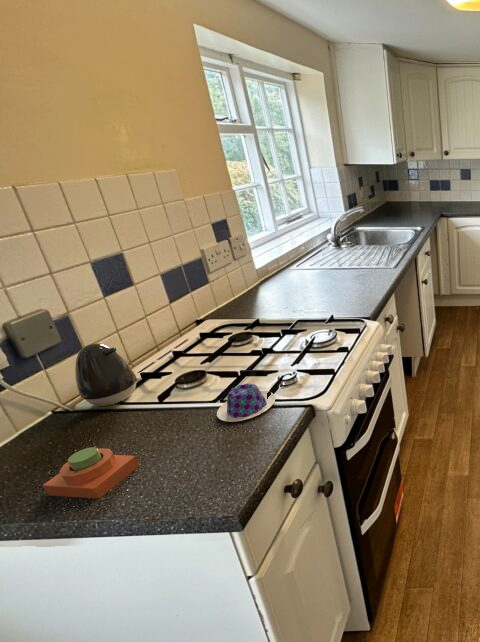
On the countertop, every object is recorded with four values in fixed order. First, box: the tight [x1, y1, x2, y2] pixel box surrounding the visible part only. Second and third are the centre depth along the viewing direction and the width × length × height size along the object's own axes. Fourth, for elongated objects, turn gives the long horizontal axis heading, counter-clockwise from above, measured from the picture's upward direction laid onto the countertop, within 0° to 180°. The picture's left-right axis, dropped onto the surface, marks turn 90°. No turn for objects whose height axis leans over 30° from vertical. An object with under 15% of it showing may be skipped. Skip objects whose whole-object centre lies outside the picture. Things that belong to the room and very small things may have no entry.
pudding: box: [216, 383, 276, 423], centre depth 97 cm, size 12×12×5 cm
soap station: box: [42, 447, 140, 499], centre depth 77 cm, size 10×8×4 cm
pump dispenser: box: [74, 342, 138, 407], centre depth 98 cm, size 10×10×15 cm
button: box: [67, 446, 102, 471], centre depth 75 cm, size 4×4×2 cm
